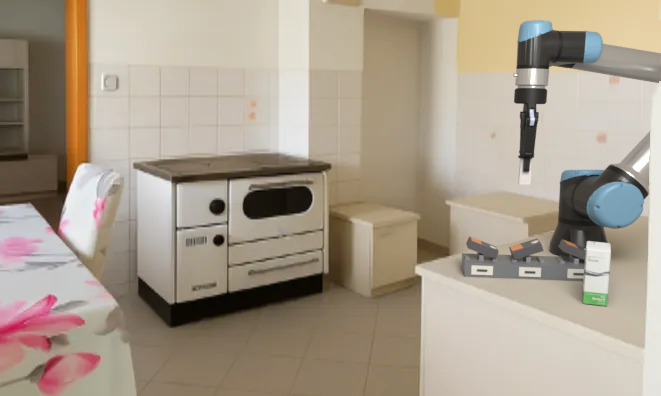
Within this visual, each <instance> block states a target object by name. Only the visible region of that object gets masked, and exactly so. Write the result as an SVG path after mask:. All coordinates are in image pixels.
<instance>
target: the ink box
mask: <svg viewBox="0 0 661 396" xmlns="http://www.w3.org/2000/svg"><path fill="white" fill-rule="evenodd" d="M611 257H612V246H611V243H609V242H608V243H603V242H594V241H587V245H586V254H585V265H584V278H583V281H582V304H584V305H585V304H587V305H594V306H603V307H608V301H609V300H608V299H609V289H610V287H609V286H610V272H611V259H612V258H611Z"/></svg>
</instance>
